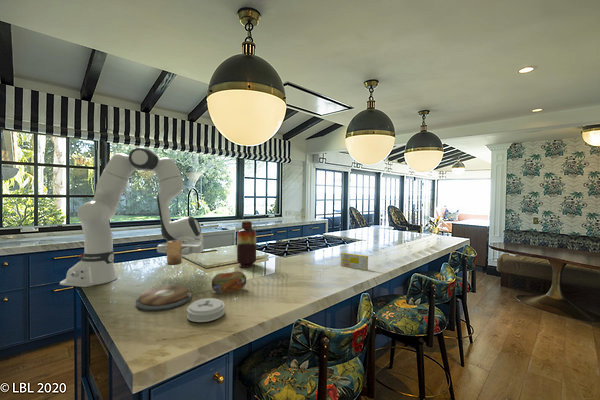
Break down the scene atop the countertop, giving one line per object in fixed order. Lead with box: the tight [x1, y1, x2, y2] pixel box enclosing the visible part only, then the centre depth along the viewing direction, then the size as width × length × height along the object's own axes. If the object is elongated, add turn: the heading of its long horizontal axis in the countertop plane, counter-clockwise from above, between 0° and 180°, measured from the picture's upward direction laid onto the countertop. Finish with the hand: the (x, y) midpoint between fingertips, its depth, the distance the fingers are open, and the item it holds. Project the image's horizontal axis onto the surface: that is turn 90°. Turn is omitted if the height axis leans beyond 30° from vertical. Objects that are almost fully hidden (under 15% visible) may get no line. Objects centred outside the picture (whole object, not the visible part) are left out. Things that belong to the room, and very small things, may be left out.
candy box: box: [340, 252, 369, 272], centre depth 160 cm, size 16×2×8 cm, turn 58°
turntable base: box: [135, 289, 193, 312], centre depth 111 cm, size 20×20×2 cm
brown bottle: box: [236, 220, 257, 269], centre depth 163 cm, size 11×11×26 cm
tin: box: [210, 270, 247, 295], centre depth 122 cm, size 15×3×8 cm, turn 117°
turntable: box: [138, 284, 192, 306], centre depth 111 cm, size 20×18×2 cm
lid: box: [186, 297, 226, 323], centre depth 98 cm, size 13×13×5 cm
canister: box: [166, 239, 183, 266], centre depth 124 cm, size 6×6×10 cm
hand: (173, 251), depth 123 cm, fingers closed on canister, 6 cm apart
